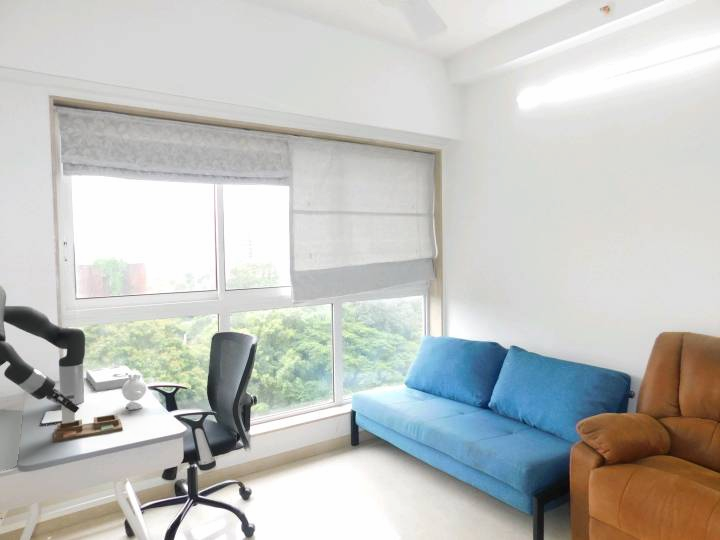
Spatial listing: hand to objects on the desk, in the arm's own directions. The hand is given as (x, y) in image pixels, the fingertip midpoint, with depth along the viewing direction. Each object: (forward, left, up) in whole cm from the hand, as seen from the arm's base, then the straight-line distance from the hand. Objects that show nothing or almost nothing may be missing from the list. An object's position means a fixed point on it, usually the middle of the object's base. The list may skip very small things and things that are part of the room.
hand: (73, 408), depth 182 cm
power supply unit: (-74, +17, -9) cm, 76 cm away
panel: (+2, +5, -9) cm, 10 cm away
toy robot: (-20, +23, -9) cm, 31 cm away
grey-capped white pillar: (+1, -2, -4) cm, 5 cm away
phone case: (-21, -6, -9) cm, 24 cm away
